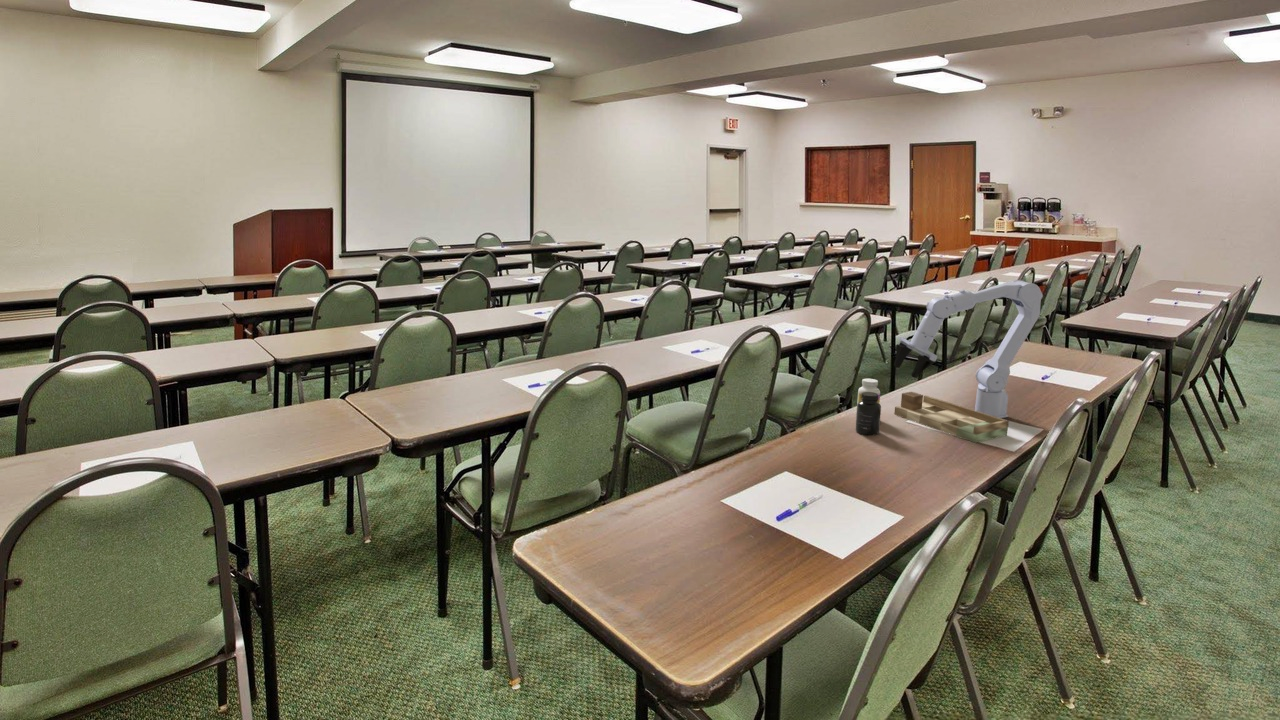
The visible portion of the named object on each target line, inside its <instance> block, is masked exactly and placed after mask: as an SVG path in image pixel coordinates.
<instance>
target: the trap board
mask: <svg viewBox="0 0 1280 720" xmlns="http://www.w3.org/2000/svg"><path fill="white" fill-rule="evenodd" d="M893 414H894V415H896V416H898V417H902V418H904V419H906V418H907V420H909V419H910V421H912V420H913V421H912V422H915V421H916V422H915V423H918V424H922V425H923V424H924V426H926V425H927V426H926V427H929V428H931V429H932V428H933V429H935V430H938V431H940V430H941V432H943V431H944V433H946V434H949V433H950V435H952V436H955V437H958V438H960V437H961V438H960V439H964V440H967V441H969V440H970V442H973V443H975V444H977V443H979V442H980V441H981V442H984V440H985V441H988V440H993V439H997V438H996V437H998V438H1001V437H1000V436H1002V437H1005V436H1004V435H1006V436H1007V435H1008V429H1009V422H1010V421H1009V420H1007V419H1004V418H998V417H995V416H991V415H988V414H985V413H982V412H978V411H975V409H971V408H968V407H966V406H962V405H958V404H955V403H952V402H950V401H949V402H948V401H945V400H942V399H939V398H936V397H934V396H929V395H923V401H922V409H917V410H909V409H906V408H903V407H901V405H898V406H894V413H893ZM992 438H993V439H992ZM981 442H980V443H981Z"/></svg>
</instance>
